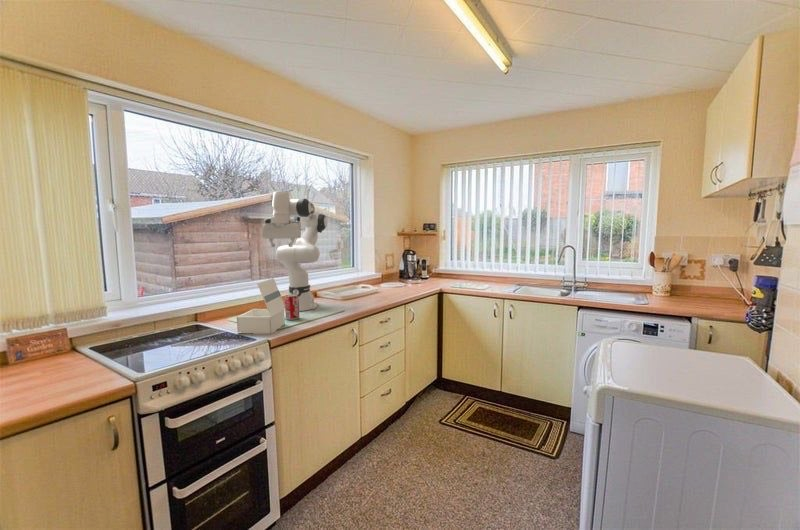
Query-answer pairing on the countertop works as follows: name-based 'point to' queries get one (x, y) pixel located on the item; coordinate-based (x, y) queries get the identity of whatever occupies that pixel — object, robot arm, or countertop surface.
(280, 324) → the box
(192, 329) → the countertop surface
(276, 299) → the mailer lid
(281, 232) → the robot arm
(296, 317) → the soda can
